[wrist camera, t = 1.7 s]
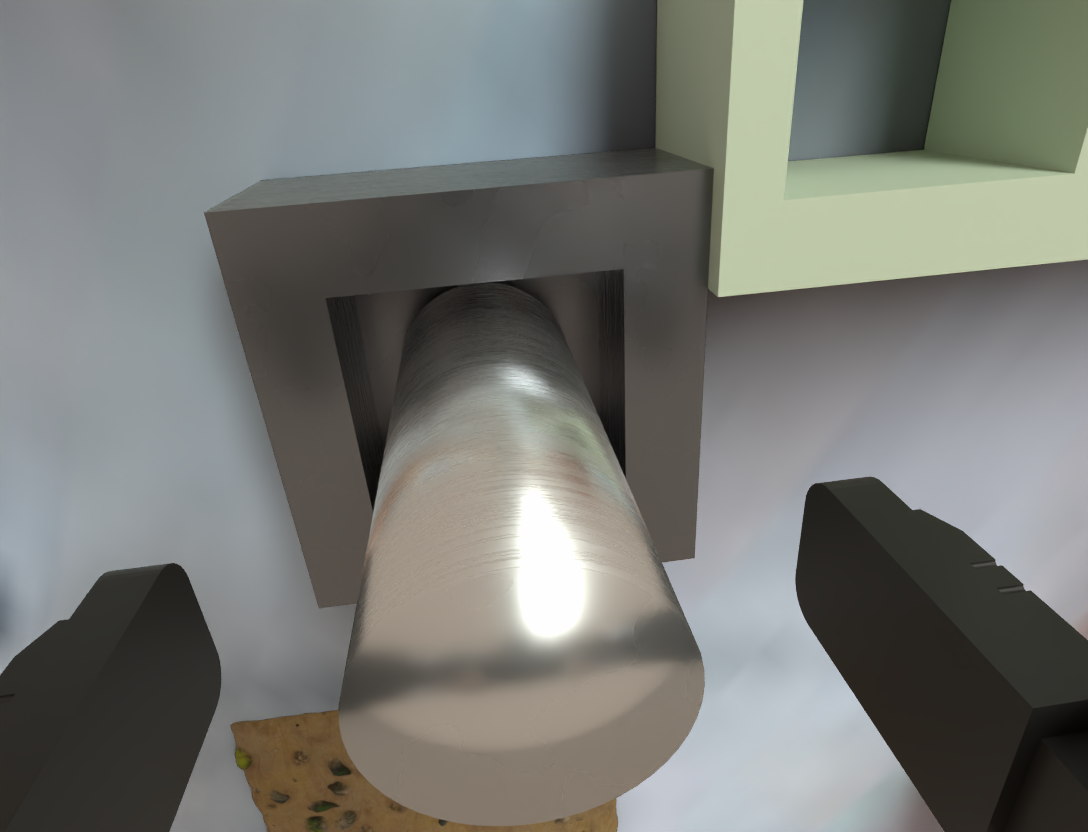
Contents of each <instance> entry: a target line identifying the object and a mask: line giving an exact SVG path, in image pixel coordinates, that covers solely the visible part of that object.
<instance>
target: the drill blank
mask: <svg viewBox="0 0 1088 832" xmlns="http://www.w3.org/2000/svg"><path fill="white" fill-rule="evenodd" d="M704 687H705V681H704V666H703V662H702V657H701V653H700V651H699V648H698V646H697V644H696V641H695V639H694V636H693V634H692V632H691V629H690V627H689V625H688V623H687V620H686V618H685V616H684V613H683V611H682V609H681V606H680V604H679V602H678V599H677V597H676V595H675V592H674V590H673V588H672V585H671V583H670V581H669V578H668V576H667V574H666V571H665V569H664V567H663V564H662V562H661V560H660V557H659V555H658V553H657V550H656V548H655V546H654V543H653V541H652V539H651V537H650V534H649V532H648V530H647V527H646V525H645V523H644V520H643V518H642V516H641V513H640V511H639V509H638V506H637V504H636V502H635V499H634V497H633V495H632V492H631V490H630V488H629V485H628V483H627V481H626V478H625V476H624V474H623V471H622V469H621V467H620V464H619V462H618V460H617V457H616V455H615V453H614V450H613V448H612V446H611V444H610V441H609V439H608V437H607V434H606V432H605V430H604V427H603V425H602V423H601V420H600V418H599V416H598V413H597V411H596V409H595V406H594V404H593V402H592V399H591V397H590V395H589V392H588V390H587V388H586V385H585V383H584V381H583V378H582V376H581V374H580V371H579V369H578V367H577V364H576V362H575V360H574V358H573V355H572V353H571V351H570V348H569V346H568V344H567V341H566V339H565V337H564V334H563V332H562V330H561V327H560V325H559V324H558V322H557V320H556V319H555V317H554V316H553V314H552V313H551V312H550V311H549V310H548V308H546V307H545V306H544V305H543V304H542V303H541V302H540V301H539V300H537V299H536V298H534V297H533V296H532V295H530V294H528V293H526V292H524V291H522V290H520V289H517V288H515V287H512V286H508V285H504V284H499V283H474V284H467V285H463V286H460V287H456V288H453V289H451V290H449V291H447V292H445V293H443V294H441V295H440V296H438V297H436V298H435V299H433V300H432V301H431V302H430V303H429V304H427V305H426V306H425V307H424V308H423V309H422V310H421V311H420V313H419V314H418V315H417V316H416V318H415V319H414V321H413V322H412V324H411V326H410V328H409V330H408V332H407V335H406V338H405V340H404V345H403V350H402V355H401V361H400V367H399V372H398V378H397V383H396V389H395V394H394V400H393V406H392V411H391V417H390V422H389V428H388V433H387V439H386V445H385V450H384V456H383V461H382V467H381V473H380V478H379V484H378V489H377V495H376V500H375V506H374V512H373V517H372V523H371V528H370V534H369V539H368V545H367V551H366V556H365V562H364V567H363V573H362V579H361V584H360V590H359V595H358V601H357V606H356V612H355V618H354V623H353V629H352V634H351V640H350V645H349V651H348V657H347V662H346V668H345V673H344V679H343V684H342V690H341V696H340V701H339V727H340V732H341V737H342V741H343V743H344V746H345V748H346V751H347V753H348V755H349V757H350V759H351V760H352V762H353V763H354V765H355V766H356V768H357V769H358V771H359V772H360V773H361V774H362V775H363V776H364V777H365V778H366V779H367V781H368V782H369V783H370V784H372V785H373V786H374V787H375V788H377V789H378V790H379V791H380V792H381V793H383V794H384V795H386V796H387V797H389V798H391V799H392V800H394V801H395V802H397V803H399V804H401V805H403V806H405V807H407V808H409V809H412V810H414V811H416V812H418V813H421V814H424V815H428V816H431V817H434V818H437V819H441V820H446V821H450V822H455V823H462V824H469V825H479V826H516V825H526V824H534V823H541V822H546V821H551V820H556V819H561V818H564V817H568V816H571V815H575V814H578V813H581V812H584V811H587V810H589V809H592V808H595V807H597V806H600V805H602V804H604V803H606V802H608V801H610V800H613V799H615V798H617V797H619V796H621V795H622V794H624V793H626V792H627V791H629V790H631V789H632V788H634V787H636V786H637V785H639V784H640V783H641V782H643V781H644V780H646V779H647V778H648V777H650V776H651V775H652V774H654V773H655V772H656V771H657V770H658V769H659V768H660V767H661V766H662V765H664V764H665V763H666V762H667V761H668V760H669V759H670V757H671V756H672V755H673V754H674V753H675V752H676V751H677V750H678V749H679V747H680V746H681V744H682V743H683V741H684V740H685V739H686V737H687V736H688V734H689V732H690V731H691V729H692V727H693V725H694V723H695V721H696V719H697V716H698V713H699V710H700V707H701V704H702V700H703V693H704Z"/></svg>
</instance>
